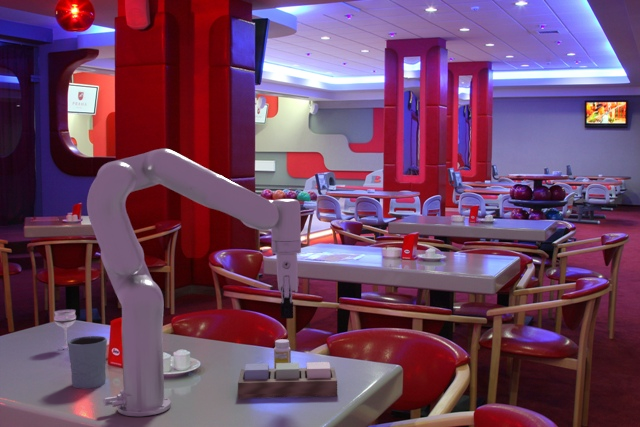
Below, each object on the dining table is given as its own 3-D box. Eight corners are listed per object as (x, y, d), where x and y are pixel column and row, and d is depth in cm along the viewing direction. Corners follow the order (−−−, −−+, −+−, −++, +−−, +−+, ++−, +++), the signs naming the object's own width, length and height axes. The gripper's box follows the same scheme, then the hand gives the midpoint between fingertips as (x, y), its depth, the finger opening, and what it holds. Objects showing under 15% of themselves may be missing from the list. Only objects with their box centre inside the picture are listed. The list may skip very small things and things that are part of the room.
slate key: (244, 383, 184) (244, 370, 184) (246, 376, 190) (245, 363, 190) (268, 383, 184) (268, 369, 184) (268, 376, 190) (268, 363, 190)
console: (238, 398, 181) (237, 382, 181) (241, 383, 193) (241, 369, 193) (337, 396, 182) (337, 380, 182) (334, 381, 194) (334, 367, 194)
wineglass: (71, 344, 238) (70, 308, 237) (80, 348, 233) (79, 311, 232) (51, 348, 233) (50, 311, 232) (60, 351, 228) (58, 314, 227)
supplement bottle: (282, 366, 209) (281, 338, 209) (294, 369, 206) (294, 340, 206) (270, 370, 206) (270, 341, 205) (283, 373, 203) (282, 343, 202)
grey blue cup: (81, 391, 187) (79, 346, 187) (61, 384, 194) (60, 340, 193) (115, 383, 195) (114, 339, 194) (95, 375, 202) (94, 333, 201)
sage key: (276, 383, 184) (275, 369, 184) (276, 376, 190) (276, 363, 190) (299, 382, 184) (299, 369, 184) (299, 375, 190) (299, 362, 190)
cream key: (307, 382, 184) (307, 368, 184) (306, 375, 190) (306, 362, 190) (330, 381, 185) (330, 368, 184) (329, 375, 191) (329, 362, 190)
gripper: (301, 250, 177) (302, 323, 179) (300, 243, 193) (301, 311, 194) (270, 250, 177) (271, 324, 178) (272, 244, 192) (273, 312, 194)
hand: (287, 317), depth 186 cm, fingers closed
